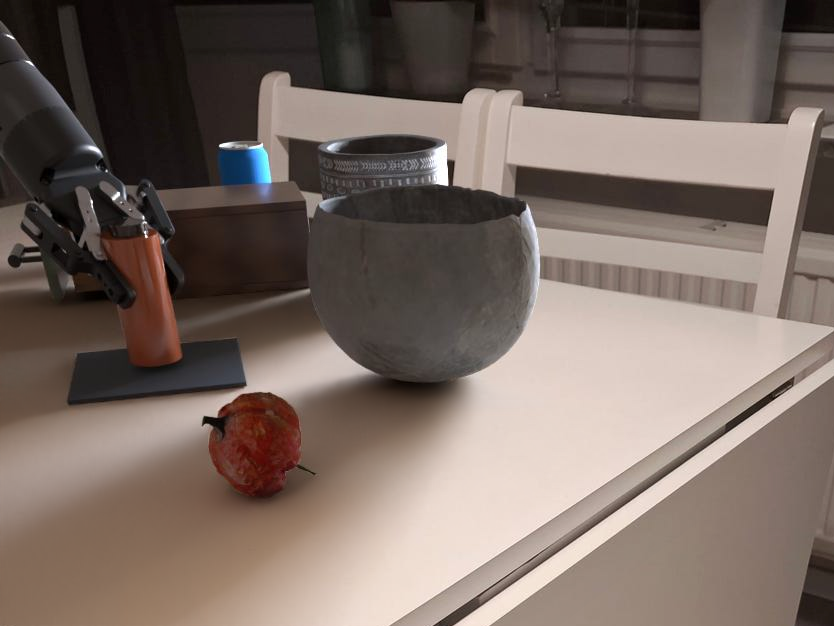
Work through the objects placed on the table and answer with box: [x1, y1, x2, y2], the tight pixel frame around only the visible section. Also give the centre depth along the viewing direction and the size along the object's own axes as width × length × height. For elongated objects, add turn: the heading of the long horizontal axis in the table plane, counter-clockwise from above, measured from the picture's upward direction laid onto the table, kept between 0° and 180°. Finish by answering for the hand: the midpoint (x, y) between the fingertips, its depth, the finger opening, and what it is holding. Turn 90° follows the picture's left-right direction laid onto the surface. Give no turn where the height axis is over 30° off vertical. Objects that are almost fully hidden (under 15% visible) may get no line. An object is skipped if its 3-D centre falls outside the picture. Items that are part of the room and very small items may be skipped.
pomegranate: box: [201, 391, 317, 498], centre depth 74 cm, size 7×7×10 cm
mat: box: [66, 337, 248, 406], centre depth 97 cm, size 16×14×1 cm
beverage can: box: [217, 140, 272, 186], centre depth 134 cm, size 6×6×12 cm
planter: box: [317, 133, 449, 201], centre depth 115 cm, size 14×14×15 cm
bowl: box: [307, 184, 541, 384], centre depth 90 cm, size 20×20×15 cm
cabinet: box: [155, 180, 311, 300], centre depth 121 cm, size 17×13×9 cm
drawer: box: [7, 224, 104, 300], centre depth 118 cm, size 20×12×7 cm, turn 104°
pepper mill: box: [101, 218, 183, 367], centre depth 93 cm, size 5×5×12 cm
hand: (154, 294), depth 92 cm, fingers closed on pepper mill, 5 cm apart
